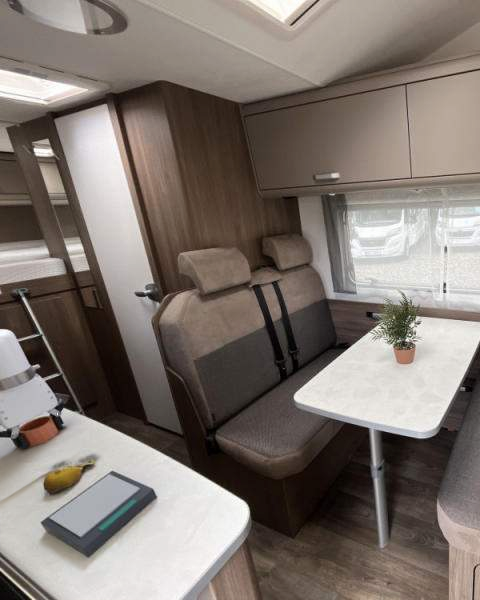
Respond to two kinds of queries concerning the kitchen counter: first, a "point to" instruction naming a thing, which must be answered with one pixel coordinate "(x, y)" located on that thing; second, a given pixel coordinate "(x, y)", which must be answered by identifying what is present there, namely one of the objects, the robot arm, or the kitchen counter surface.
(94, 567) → the kitchen counter surface
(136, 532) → the kitchen counter surface
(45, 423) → the bowl
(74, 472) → the fruit
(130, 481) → the scale
